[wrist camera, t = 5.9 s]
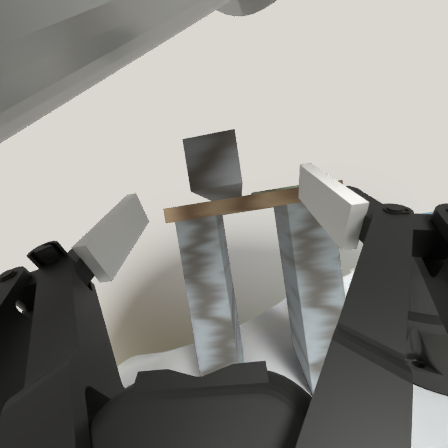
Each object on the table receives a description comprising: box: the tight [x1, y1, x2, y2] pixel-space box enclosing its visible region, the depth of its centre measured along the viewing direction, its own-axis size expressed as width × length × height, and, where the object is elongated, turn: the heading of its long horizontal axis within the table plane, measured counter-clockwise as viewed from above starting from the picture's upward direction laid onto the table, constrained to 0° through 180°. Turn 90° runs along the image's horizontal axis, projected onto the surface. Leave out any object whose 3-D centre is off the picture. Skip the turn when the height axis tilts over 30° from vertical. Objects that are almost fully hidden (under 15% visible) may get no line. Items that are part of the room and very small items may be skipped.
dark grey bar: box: [183, 129, 242, 201], centre depth 29 cm, size 4×30×4 cm, turn 175°
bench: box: [164, 180, 345, 395], centre depth 31 cm, size 24×12×30 cm, turn 85°
